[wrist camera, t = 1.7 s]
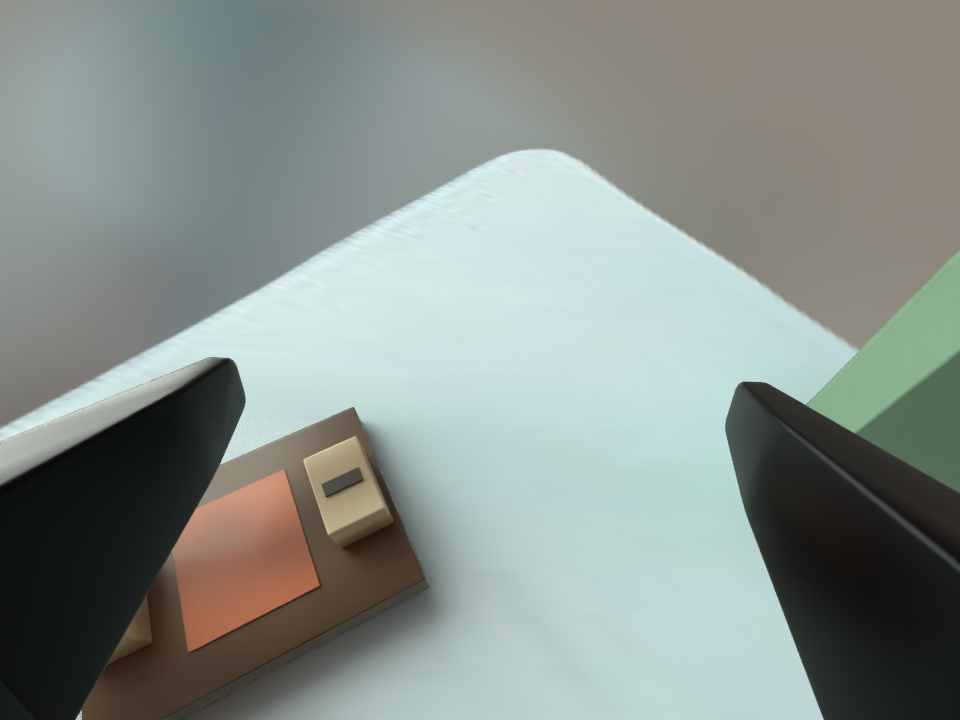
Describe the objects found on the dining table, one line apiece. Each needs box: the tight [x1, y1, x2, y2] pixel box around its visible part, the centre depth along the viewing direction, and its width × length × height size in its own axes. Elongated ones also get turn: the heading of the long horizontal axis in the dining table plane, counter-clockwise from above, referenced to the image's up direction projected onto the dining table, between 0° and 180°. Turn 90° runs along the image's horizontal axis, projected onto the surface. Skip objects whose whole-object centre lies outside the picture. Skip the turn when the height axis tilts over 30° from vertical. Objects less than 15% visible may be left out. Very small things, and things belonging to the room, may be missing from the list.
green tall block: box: [806, 250, 960, 493], centre depth 19 cm, size 5×5×13 cm
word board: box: [82, 407, 429, 720], centre depth 21 cm, size 9×13×4 cm
